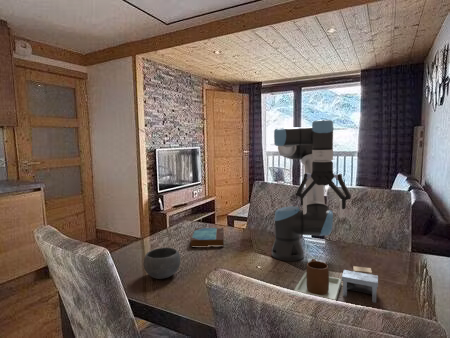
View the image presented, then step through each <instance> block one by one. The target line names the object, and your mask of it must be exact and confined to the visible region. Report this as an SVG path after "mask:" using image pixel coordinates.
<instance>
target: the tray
mask: <svg viewBox="0 0 450 338" xmlns="http://www.w3.org/2000/svg"><path fill="white" fill-rule="evenodd" d="M342 285H343V281H342V278H339V277H333V276H329V291H328V293H327V294H325V295H317V294H313V293H310V292H309V291H308V290H307V271H305V272H304V273H303V275H302V276H301V278H300V280H299V282H298V283H297V285H296V286H295V288H294V290H295V291H298V292H302V293H306V294H310V295H315V296H319V297H323V298H328V299H332V300H338V297H339V293H340V290H341V287H342ZM294 290H293V291H294Z"/></svg>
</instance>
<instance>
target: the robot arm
mask: <svg viewBox="0 0 450 338" xmlns="http://www.w3.org/2000/svg"><path fill="white" fill-rule="evenodd" d="M311 124H312V125H311V126H303V127H278V128H274V130H273V139H274V140H273V141H274V146H276V147H277V151H278V153H279V154H280V156H282V157H284V158H286V159H289V160H298V161H299V160H300V162H301V164H302V165H303V167H304V168H303V169H304V174H303V179H302V180H301V182H300V185H299V187H298V188H297V190H296V192H295V196H297V197H299V199H300V206H302V209H300V207H299V206H284V207H283V206H282V207H280V208H278V209H276V210H275V211H274V241H273V245H272V248H271V256H272V257H273V258H274V259H276V260H280V261H282V262H283V261H285V262H293V261H294V262H295V261H299V260H302V259H303V258H304V254H305V253H304V248H303V245H302V243H301V241H300V239H301V238H300V236H301V235H302V236H320V237H321V236H322V237H324V236H330V234H331V233H332V230H333V219H334V212H333V210H330V209H329V205H327V204H326V202H325V192H324V186H325V187H326V186H329V187H330V188H331V189H332V190H333V192H334V193H335V194H336V195H337V196H338V197H339V198H340V200H339V219H342V218H343V216H344V210H345V209H346V207H347V200H348V201H349V200H351V198H352V195H351V193H350V191H349V189H348V187H347V185H346V183H345V181H344V180H343V174H342V173H337V174H334V162H333V160H334V122H333V120H331V119H317V120H313V121H312V123H311ZM334 179H335V180H336V181H338V184H339V185H340V188H341V189H342V190H340V189H339V188H338V186H337V185H336V184H335V182H334V181H333V180H334ZM304 187H305V190H304V191H303V189H304ZM302 191H303V192H302Z"/></svg>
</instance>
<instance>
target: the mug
mask: <svg viewBox="0 0 450 338" xmlns="http://www.w3.org/2000/svg"><path fill="white" fill-rule="evenodd" d="M305 272H307V290H308V291H309V292H310V293H313V294H317V295H325V294H327V293H328V291H329V277H330V269H329V265H328V264H327V263H326V262H322V261H317V259H316V258H312V259H311V260H310V261H309V262H308V261H307V263H306V270H305Z"/></svg>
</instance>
